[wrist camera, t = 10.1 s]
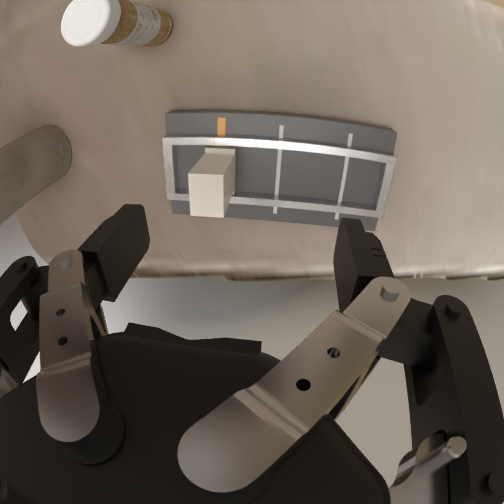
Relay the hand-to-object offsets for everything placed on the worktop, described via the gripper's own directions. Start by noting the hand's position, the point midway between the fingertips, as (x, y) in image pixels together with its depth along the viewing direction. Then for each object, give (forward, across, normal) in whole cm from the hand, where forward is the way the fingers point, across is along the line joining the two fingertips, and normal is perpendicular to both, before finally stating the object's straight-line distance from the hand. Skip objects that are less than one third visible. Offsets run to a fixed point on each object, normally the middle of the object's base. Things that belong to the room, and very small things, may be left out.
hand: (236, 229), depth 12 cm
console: (+22, -1, +5) cm, 22 cm away
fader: (+20, +5, +5) cm, 21 cm away
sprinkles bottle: (+22, +13, -12) cm, 28 cm away
